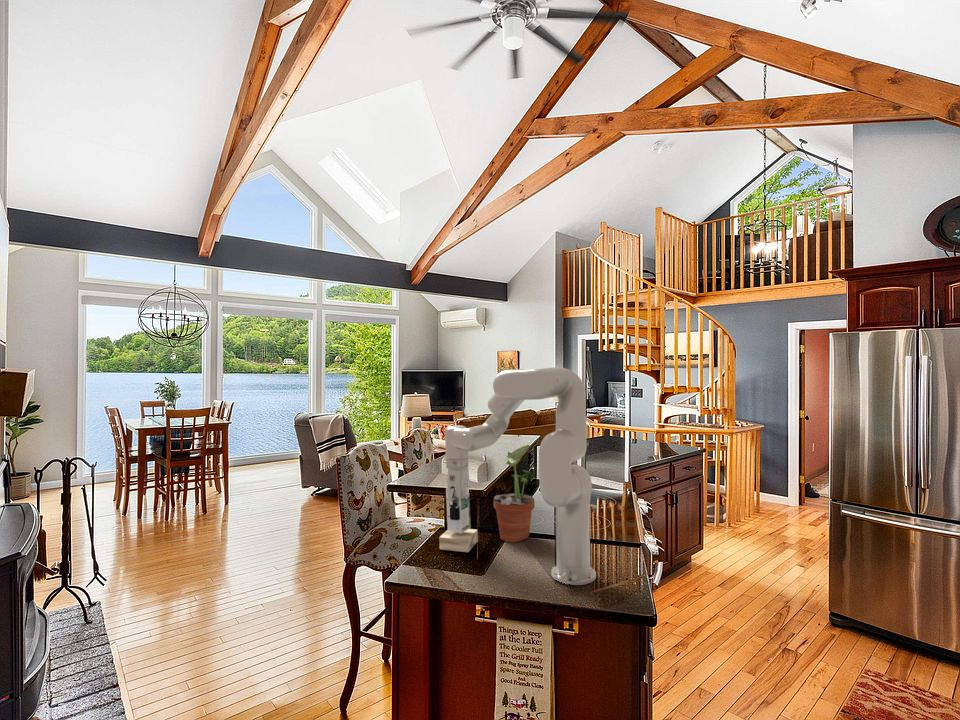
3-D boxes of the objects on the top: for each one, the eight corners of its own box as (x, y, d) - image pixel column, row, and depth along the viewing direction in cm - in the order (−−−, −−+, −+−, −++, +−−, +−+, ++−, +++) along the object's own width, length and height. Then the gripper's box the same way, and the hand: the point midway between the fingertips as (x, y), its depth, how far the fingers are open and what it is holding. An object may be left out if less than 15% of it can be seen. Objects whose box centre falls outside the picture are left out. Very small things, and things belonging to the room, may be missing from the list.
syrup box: (461, 533, 171) (460, 489, 170) (446, 531, 174) (445, 487, 173) (471, 528, 175) (469, 485, 175) (456, 525, 179) (455, 483, 178)
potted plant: (545, 534, 182) (543, 435, 182) (518, 547, 171) (516, 441, 171) (511, 525, 193) (509, 431, 192) (483, 536, 182) (481, 436, 181)
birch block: (468, 552, 168) (467, 540, 168) (439, 549, 172) (439, 537, 171) (477, 541, 178) (477, 529, 178) (450, 538, 181) (450, 527, 181)
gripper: (458, 469, 165) (460, 525, 165) (476, 458, 181) (477, 509, 182) (436, 468, 167) (438, 523, 167) (455, 457, 184) (457, 507, 184)
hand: (458, 515), depth 174 cm, fingers closed on syrup box, 6 cm apart
